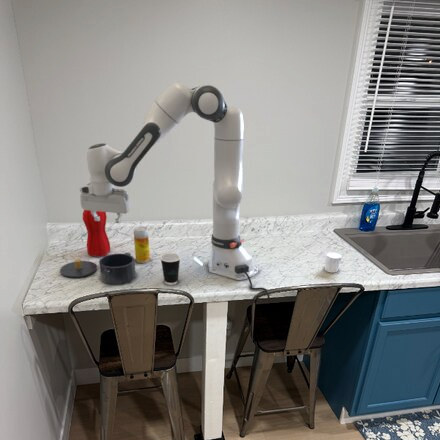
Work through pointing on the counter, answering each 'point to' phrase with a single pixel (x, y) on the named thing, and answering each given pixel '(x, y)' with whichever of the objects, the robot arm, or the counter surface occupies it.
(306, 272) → the counter surface
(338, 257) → the white cylinder
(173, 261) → the dixie cup
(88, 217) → the water bottle
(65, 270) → the pot lid
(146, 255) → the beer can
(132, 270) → the pot
